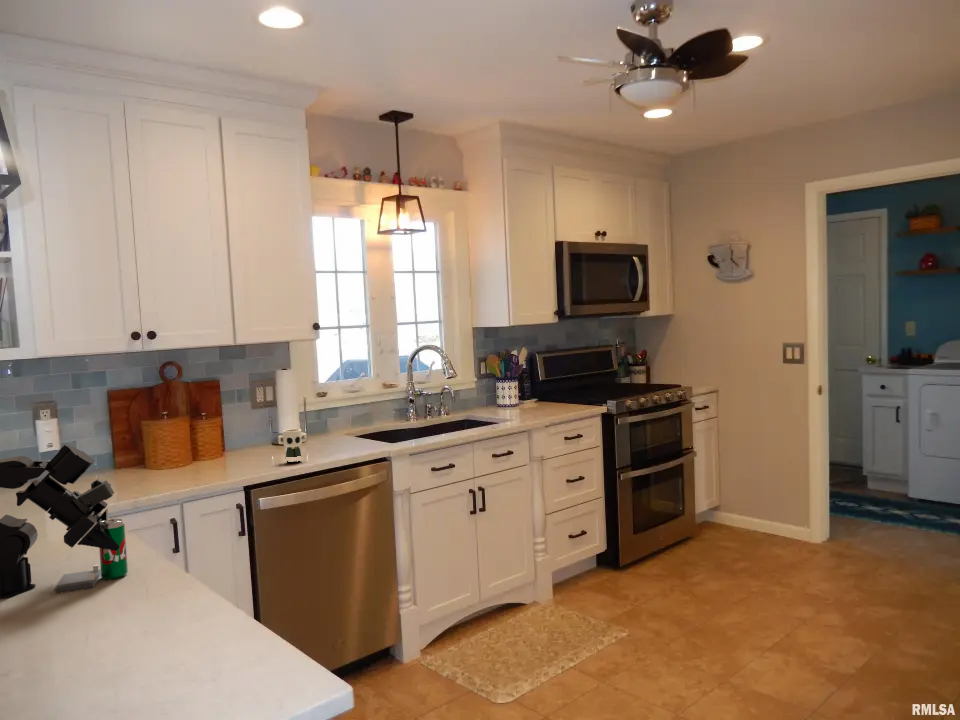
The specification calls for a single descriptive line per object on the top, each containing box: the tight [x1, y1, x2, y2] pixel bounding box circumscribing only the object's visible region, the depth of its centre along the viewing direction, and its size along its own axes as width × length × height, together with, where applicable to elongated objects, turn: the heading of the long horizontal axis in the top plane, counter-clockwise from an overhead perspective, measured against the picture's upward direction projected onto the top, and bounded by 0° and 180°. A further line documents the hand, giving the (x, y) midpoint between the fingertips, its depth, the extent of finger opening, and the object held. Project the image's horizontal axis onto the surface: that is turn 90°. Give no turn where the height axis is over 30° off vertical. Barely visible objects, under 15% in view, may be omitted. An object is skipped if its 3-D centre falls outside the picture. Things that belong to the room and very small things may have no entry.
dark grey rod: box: [55, 583, 94, 594], centre depth 144 cm, size 7×1×1 cm, turn 110°
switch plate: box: [56, 564, 101, 588], centre depth 148 cm, size 7×7×2 cm
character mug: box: [277, 428, 307, 458], centre depth 276 cm, size 11×7×13 cm, turn 113°
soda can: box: [98, 518, 129, 581], centre depth 151 cm, size 5×5×12 cm
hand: (119, 545), depth 151 cm, fingers closed on soda can, 5 cm apart
